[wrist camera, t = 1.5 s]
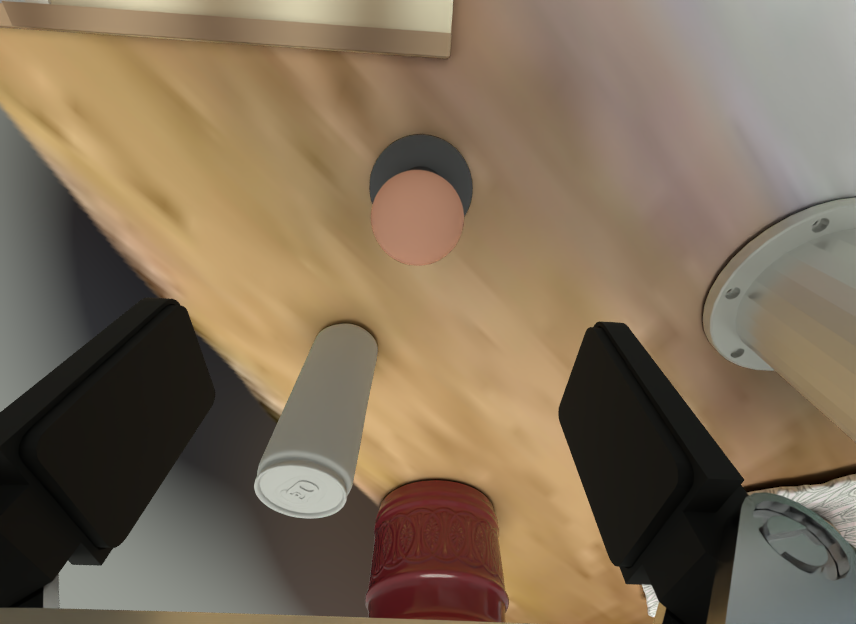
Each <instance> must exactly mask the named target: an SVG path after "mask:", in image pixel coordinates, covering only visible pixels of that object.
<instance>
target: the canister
mask: <svg viewBox="0 0 856 624" xmlns="http://www.w3.org/2000/svg"><path fill="white" fill-rule="evenodd" d="M374 535H375V541H374V549H373V557H372V564H371V572H370V580H369V587H368V591H367V593H366V596H365V604H366V607H367V609H368V611H369V617H368V618H391V619H421V620H448V621H475V622H501V623H505V613H506V611H507V609H508V605H509V599H508V595H507V593H506V591H505V585H504V577H503V570H502V562H501V555H500V547H499V540H498V538H499V528H498V520H497V517H496V515H495V513H494V509H493V506H492V504H491V502H490V500H489V499H488V498H487V497H486V496H485V495H484V494H482V493H481V492H480V491H478V490H476V489H474V488H472V487H470V486H467V485H464V484H461V483H457V482H452V481H443V480H428V481H419V482H414V483H410V484H407V485H404V486H402V487H400V488H397V489H396V490H394V491H392V492H391V493H390V494H388V495H387V496H386V497H385V498H384V500H383V501H382V503H381V505H380V509H379V512H378V514H377V516H376V520H375V527H374Z"/></svg>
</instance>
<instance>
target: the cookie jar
mask: <svg viewBox="0 0 856 624" xmlns="http://www.w3.org/2000/svg"><path fill="white" fill-rule="evenodd" d="M761 492H768V493H772V494H776V495H781V496H784V497H786V498H788V499H791V500H793V501H795V502H798V503H800V504H801V505H803V506H805V507H806V508H808V509H810V510H811V511H813V512H815V513H816V514H818V515H819V516H820V517H821V518H823V519H824V520H825V521H826V522H828V523H829V524H830V525H831V526H833V527H834V528H835V529H836V530H837V531H838V532H839V533H840V534H841V535H842V537H843V538H844V539H845V540H846V541H847V542H848V543H849V544H850V546H851V547H852V549H853V550H854V552H855V553H856V474H853V475H849V476H845V477H841V478H837V479H834V480H831V481H829V482H826V483H824V484H817V485H802V486H795V487H777V488H770V489H764V490H758V491H752V492H747V494H748V495H751V494H753V493H761ZM642 587H643V590H644V592H645V596H646V601H647V606H648V615H650V616H651V617H655V615H656V611H657V607H658V604H659V601H658V599H657V596H656V594H655V592H654V589H653V587H652V585H642Z"/></svg>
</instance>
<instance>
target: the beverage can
mask: <svg viewBox="0 0 856 624" xmlns="http://www.w3.org/2000/svg"><path fill="white" fill-rule="evenodd" d="M377 354H378V347H377V343H376V341H375V339H374V338H373V336H372V335H371V334H370V333H368V332H367V331H366V330H365V329H363V328H361V327H359V326H357V325H353V324H345V323H344V324H337V325H333V326H330V327H327V328H325V329H323V330H322V331H320V332H319V334H318V335H317V337H316V338H315V340H314V343H313V345H312V347H311V349H310V352H309V354H308V356H307V358H306V361H305V363H304V365H303V367H302V370H301V372H300V374H299V376H298V378H297V381H296V383H295V385H294V387H293V390H292V392H291V394H290V396H289V399H288V401H287V403H286V405H285V408H284V410H283V412H282V414H281V417H280V419H279V421H278V423H277V425H276V428H275V430H274V432H273V434H272V437H271V439H270V441H269V443H268V446H267V448H266V450H265V453H264V455H263V457H262V459H261V461H260V464H259V467H258V472H257V477H256V480H255V484H254V488H255V492H256V495H257V496H258V498H259V499H260V500H261V501H262V502H263V503H264V504H266V505H267V506H268V507H270V508H271V509H273V510H275V511H277V512H280V513H283V514H285V515H289V516H294V517H298V518H321V517H325V516H329V515H332V514H334V513H336V512H338V511H339V510H340V509H341V508H342V507H343V506H344V504H345V502H346V500H347V495H348V494H349V492H350V490H351V487H352V484H353V479H354V474H355V469H356V464H357V459H358V454H359V449H360V443H361V438H362V432H363V426H364V421H365V415H366V409H367V404H368V399H369V394H370V389H371V384H372V379H373V374H374V369H375V365H376V360H377Z"/></svg>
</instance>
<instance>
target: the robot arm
mask: <svg viewBox="0 0 856 624" xmlns="http://www.w3.org/2000/svg"><path fill="white" fill-rule="evenodd" d="M703 325H704V332H705V334H706V336H707V338H708V341H709V342H710V343H711V345H712V346H713V347H714V348H715V349H716V350H717V351H718V352H719V353H720V354H721V355H722V356H723V357H724V358H725V359H727V360H728V361H730V362H732V363H734V364H736V365H738V366H741V367H745V368H749V369H754V370H768V371H773V370H775V371H776V372H777V373H778V374H779V375H780V376H781V377H783V378H784V379H785V380H786V381H787V382H788V383H789V384H790V385H792V386H793V387H794V388H795V389H796V390H797V391H798V392H799V393H801V394H802V395H803V396H804V397H805V398H806V399H807V400H808V401H810V402H811V403H812V404H813V405H814V406H815V407H816V408H817V409H819V410H820V411H821V412H822V413H823V414H824V415H825V416H826V417H827V418H829V419H830V420H831V421H832V422H833V423H834V424H835V425H836V426H838V427H839V428H840V429H841V430H842V431H843V432H844V433H845V434H847V435H848V436H849V437H850V438H851V439H852V440H853V441H854V442H856V198H848V199H839V200H835V201H831V202H827V203H824V204H820V205H816V206H813V207H811V208H808V209H806V210H803V211H801V212H799V213H796V214H794V215H791V216H789V217H788V218H786V219H784V220H782V221H781V222H779V223H777V224H775V225H774V226H772V227H770V228H768V229H767V230H766V231H764V232H763V233H762V234H760V235H759V236H757V237H756V238H755V239H753V240H752V241H751V242H749V243H748V244H747V245H746V246H745V247H744V248H743V249H742V250H741V251H740V252H739V253H737V254H736V255H735V256H734V257H733V258H732V259H731V261H730V262H729V263H728V264H727V266H726V267H725V268H724V269H723V270H722V272H721V273H720V274H719V276H718V277H717V279H716V281H715V283H714V284H713V286H712V288H711V289H710V292H709V294H708V297H707V300H706V302H705V305H704V313H703ZM214 400H215V389H214V386H213V383H212V380H211V378H210V375H209V372H208V369H207V366H206V363H205V361H204V358H203V354H202V352H201V349H200V346H199V343H198V340H197V337H196V334H195V331H194V328H193V326H192V323H191V320H190V317H189V314H188V311H187V309H186V308H185V307H184V306H180V304H179V303H178V302H177V301H176V300H174V299H164V298H144V299H143V300H140V301H139V302H138V303H137V304H135V305H134V306H133V307H132V308H131V309H129V310H128V311H127V312H125V313H124V314H123V315H122V316H120V317H119V318H118V319H117V320H116V321H114V322H113V323H112V324H110V325H109V326H108V327H107V328H105V329H104V330H103V331H102V332H101V333H99V334H98V335H97V336H95V337H94V338H93V339H92V340H90V341H89V342H88V343H87V344H85V345H84V346H83V347H82V348H80V349H79V350H78V351H77V352H75V353H74V354H73V355H72V356H70V357H69V358H68V359H67V360H66V361H64V362H63V363H62V364H60V365H59V366H58V367H57V368H55V369H54V370H53V371H52V372H50V373H49V374H48V375H47V376H45V377H44V378H43V379H42V380H40V381H39V382H38V383H37V384H35V385H34V386H33V387H32V388H30V389H29V390H28V391H27V392H25V393H24V394H23V395H22V396H20V397H19V398H18V399H16V400H15V401H14V402H13V403H11V404H10V405H9V406H8V407H6V408H5V409H4V410H3V411H1V412H0V624H528V623H501V622H475V621H448V620H421V619H391V618H359V617H330V616H299V615H298V616H297V615H265V614H235V613H234V614H233V613H203V612H167V611H130V610H92V609H90V610H89V609H59V574H58V573H59V572H60V570H61V569H62V568H63V566H64V565H65V564H66V562H67V561H69V562H70V563H71V564H73V565H102V564H103V562H104V561H105V559H106V558H107V556H108V555H109V553H110V552H111V550H112V549H113V548H115V547H117V546H119V545H120V544H121V543H122V542H123V541H124V540H125V539H126V537H127V536H128V534H129V533H130V531H131V530H132V528H133V527H134V525H135V524H136V522H137V521H138V519H139V517H140V516H141V514H142V513H143V511H144V510H145V508H146V507H147V505H148V504H149V502H150V501H151V499H152V497H153V496H154V494H155V493H156V491H157V490H158V488H159V487H160V485H161V484H162V482H163V481H164V479H165V477H166V476H167V474H168V473H169V471H170V470H171V468H172V467H173V465H174V464H175V462H176V460H177V459H178V457H179V455H180V454H181V453H182V451H183V450H184V448H185V447H186V445H187V443H188V442H189V440H190V439H191V437H192V436H193V434H194V433H195V431H196V430H197V428H198V427H199V425H200V424H201V422H202V421H203V419H204V417H205V416H206V414H207V413H208V411H209V410H210V408H211V407H212V405H213V403H214ZM559 421H560V424H561V427H562V429H563V432H564V435H565V438H566V440H567V443H568V446H569V449H570V451H571V454H572V457H573V460H574V462H575V465H576V468H577V471H578V473H579V476H580V479H581V482H582V484H583V487H584V490H585V493H586V495H587V498H588V501H589V504H590V506H591V509H592V512H593V515H594V517H595V520H596V523H597V526H598V528H599V531H600V534H601V537H602V539H603V542H604V545H605V548H606V551H607V553H608V556H609V558H610V560H611V562H612V563H613V564H614V565H615V566H619V567H620V569H621V572H622V575H623V577H624V580H625V583H626V584H640V585H652V587H653V589H654V592H655V594H656V596H657V599H658V601H659V604H658V607H657V611H656V615H655V618H654V622H653V624H856V553H855V552H854V550H853V549H852V547H851V546H850V544H849V543H848V542H847V541H846V540H845V539H844V538H843V537H842V535H841V534H840V533H839V532H838V531H837V530H836V529H835V528H834V527H833V526H831V525H830V524H829V523H828V522H826V521H825V520H824V519H823V518H821V517H820V516H819V515H818V514H816V513H815V512H813V511H811V510H810V509H808V508H806V507H805V506H803V505H801V504H800V503H798V502H795V501H793V500H791V499H788V498H786V497H784V496H781V495H776V494H772V493H768V492H761V493H753V494H751V495H748V494H747V492H746V491H745V490H744V488H743V487H742V486H741V484H742V482H743V481H744V479H743V477H742V476H741V475H740V473H739V472H738V471H737V470H736V468H735V467H734V466H733V464H732V463H731V462H730V460H729V459H728V458H727V456H726V455H725V454H724V452H723V451H722V450H721V448H720V447H719V446H718V445H717V443H716V442H715V441H714V439H713V438H712V437H711V435H710V434H709V433H708V431H707V430H706V429H705V427H704V426H703V425H702V423H701V422H700V421H699V420H698V418H697V417H696V416H695V414H694V413H693V412H692V410H691V409H690V408H689V406H688V405H687V404H686V402H685V401H684V400H683V398H682V397H681V396H680V395H679V393H678V392H677V391H676V389H675V388H674V387H673V385H672V384H671V383H670V381H669V380H668V379H667V377H666V376H665V375H664V373H663V372H662V371H661V370H660V368H659V367H658V366H657V364H656V363H655V362H654V360H653V359H652V358H651V356H650V355H649V354H648V352H647V351H646V350H645V348H644V347H643V346H642V345H641V343H640V342H639V341H638V339H637V338H636V337H635V335H634V334H633V333H632V331H631V330H630V329H629V327H628V326H627V325H626V324H624V323H615V322H597V323H596V324H595V325H594V327H590V328H588V329H587V330H586V333H585V335H584V338H583V341H582V344H581V346H580V349H579V352H578V355H577V358H576V361H575V363H574V366H573V369H572V372H571V375H570V377H569V380H568V383H567V386H566V389H565V392H564V394H563V397H562V400H561V403H560V406H559Z"/></svg>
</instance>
